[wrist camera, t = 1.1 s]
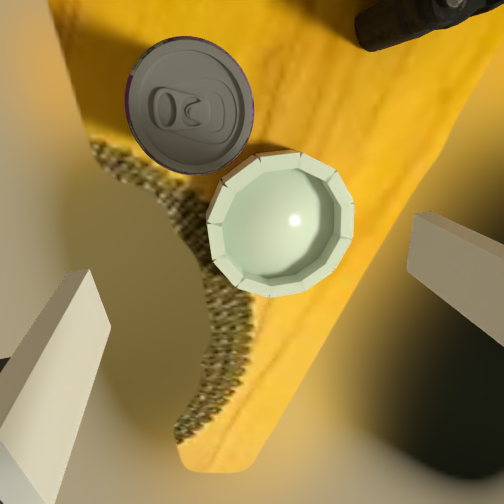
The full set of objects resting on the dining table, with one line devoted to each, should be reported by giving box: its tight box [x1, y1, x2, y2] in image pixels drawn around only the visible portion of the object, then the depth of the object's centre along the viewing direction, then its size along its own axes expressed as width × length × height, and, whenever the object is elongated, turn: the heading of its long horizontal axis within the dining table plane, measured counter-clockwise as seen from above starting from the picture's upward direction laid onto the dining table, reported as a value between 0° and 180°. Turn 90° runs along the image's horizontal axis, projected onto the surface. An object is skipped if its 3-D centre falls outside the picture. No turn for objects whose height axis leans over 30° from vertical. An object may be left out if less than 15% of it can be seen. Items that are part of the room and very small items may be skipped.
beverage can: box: [125, 36, 254, 175], centre depth 22 cm, size 7×7×12 cm
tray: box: [205, 149, 355, 298], centre depth 31 cm, size 14×14×2 cm
